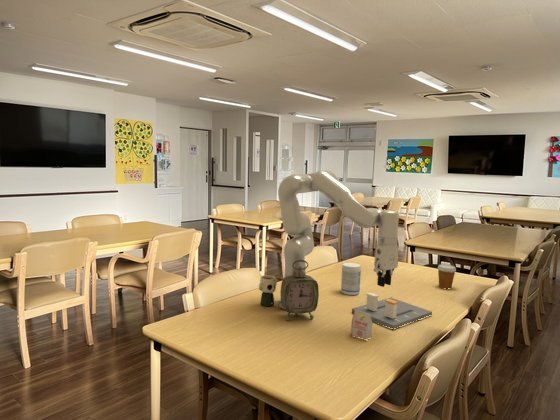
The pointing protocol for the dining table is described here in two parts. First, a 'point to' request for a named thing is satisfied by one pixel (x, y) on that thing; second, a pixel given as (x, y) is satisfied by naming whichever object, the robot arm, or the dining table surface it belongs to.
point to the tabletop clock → (299, 293)
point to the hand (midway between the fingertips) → (384, 284)
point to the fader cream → (372, 301)
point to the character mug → (267, 289)
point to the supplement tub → (350, 278)
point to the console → (403, 315)
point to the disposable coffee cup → (446, 275)
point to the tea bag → (361, 325)
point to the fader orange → (391, 308)
